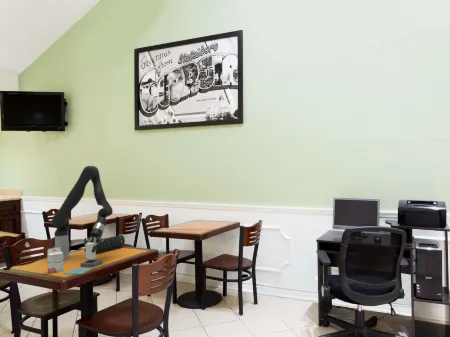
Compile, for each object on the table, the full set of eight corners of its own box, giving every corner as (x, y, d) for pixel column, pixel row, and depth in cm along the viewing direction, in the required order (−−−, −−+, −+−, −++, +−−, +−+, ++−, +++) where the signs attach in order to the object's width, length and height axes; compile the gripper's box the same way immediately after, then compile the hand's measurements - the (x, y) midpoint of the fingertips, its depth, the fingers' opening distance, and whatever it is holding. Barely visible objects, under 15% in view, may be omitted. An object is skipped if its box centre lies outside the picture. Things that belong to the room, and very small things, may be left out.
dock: (80, 267, 243) (80, 263, 243) (88, 263, 253) (88, 259, 253) (94, 267, 241) (94, 263, 241) (102, 263, 251) (101, 259, 251)
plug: (85, 258, 245) (85, 244, 245) (89, 257, 250) (89, 242, 250) (92, 259, 244) (91, 244, 244) (95, 257, 249) (95, 242, 249)
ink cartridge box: (49, 273, 230) (48, 250, 230) (47, 272, 234) (46, 249, 234) (64, 270, 236) (63, 247, 236) (61, 269, 240) (60, 246, 240)
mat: (64, 274, 227) (64, 273, 227) (75, 268, 239) (75, 268, 239) (81, 274, 225) (81, 273, 225) (92, 268, 237) (92, 268, 237)
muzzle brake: (125, 247, 301) (124, 235, 301) (95, 255, 278) (95, 241, 278) (118, 246, 306) (117, 234, 306) (88, 253, 284) (87, 240, 284)
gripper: (86, 227, 256) (76, 248, 244) (105, 227, 253) (96, 249, 241) (90, 233, 261) (81, 254, 249) (109, 233, 258) (101, 255, 246)
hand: (89, 251), depth 245 cm, fingers closed on plug, 4 cm apart
